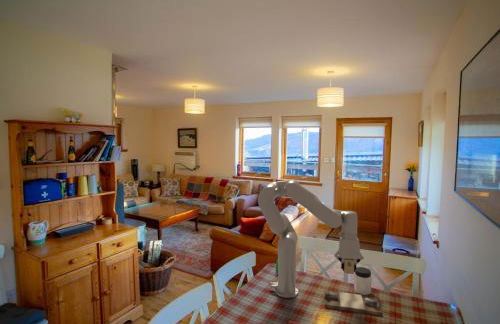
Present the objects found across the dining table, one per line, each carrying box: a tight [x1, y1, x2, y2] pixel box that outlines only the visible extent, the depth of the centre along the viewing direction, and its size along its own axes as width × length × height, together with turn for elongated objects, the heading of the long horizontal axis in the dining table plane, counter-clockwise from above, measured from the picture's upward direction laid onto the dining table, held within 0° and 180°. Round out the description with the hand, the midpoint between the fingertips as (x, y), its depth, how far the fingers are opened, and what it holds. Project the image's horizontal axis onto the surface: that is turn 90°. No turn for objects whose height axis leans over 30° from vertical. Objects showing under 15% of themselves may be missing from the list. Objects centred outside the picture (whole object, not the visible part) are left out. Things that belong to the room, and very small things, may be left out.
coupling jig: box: [324, 290, 383, 316], centre depth 145 cm, size 26×14×4 cm, turn 76°
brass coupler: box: [343, 259, 355, 275], centre depth 148 cm, size 5×6×7 cm
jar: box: [353, 266, 372, 296], centre depth 158 cm, size 9×8×12 cm
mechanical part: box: [275, 259, 278, 274], centre depth 183 cm, size 12×6×8 cm, turn 142°
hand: (348, 270), depth 148 cm, fingers closed on brass coupler, 4 cm apart
